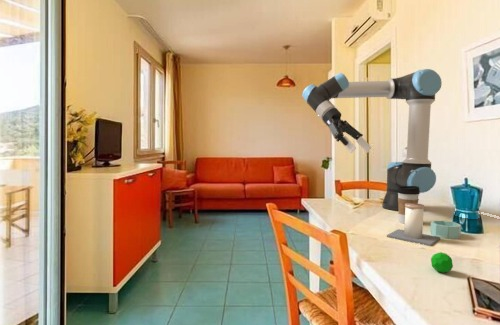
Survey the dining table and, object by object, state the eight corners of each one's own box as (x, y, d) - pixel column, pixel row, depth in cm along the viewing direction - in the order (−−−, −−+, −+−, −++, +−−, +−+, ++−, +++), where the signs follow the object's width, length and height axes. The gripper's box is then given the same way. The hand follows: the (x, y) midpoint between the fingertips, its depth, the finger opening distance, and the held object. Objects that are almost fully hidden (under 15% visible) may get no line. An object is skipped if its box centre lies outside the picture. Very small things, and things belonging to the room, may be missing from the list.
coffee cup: (421, 225, 130) (423, 188, 129) (398, 224, 132) (400, 187, 131) (415, 220, 138) (416, 185, 137) (393, 219, 140) (395, 184, 139)
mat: (398, 230, 123) (398, 229, 123) (440, 238, 113) (440, 237, 113) (386, 236, 115) (386, 235, 115) (430, 246, 105) (430, 244, 105)
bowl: (434, 230, 124) (435, 219, 124) (462, 235, 118) (463, 223, 117) (427, 235, 117) (428, 223, 117) (456, 241, 111) (457, 228, 111)
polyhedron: (444, 276, 81) (445, 258, 81) (426, 269, 86) (426, 251, 86) (456, 273, 84) (457, 255, 83) (438, 266, 88) (439, 249, 88)
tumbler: (407, 232, 118) (408, 202, 117) (425, 236, 114) (426, 204, 113) (401, 236, 114) (402, 204, 113) (419, 239, 110) (421, 207, 109)
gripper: (337, 121, 150) (368, 155, 141) (306, 118, 132) (339, 157, 123) (348, 109, 146) (381, 143, 137) (318, 104, 128) (353, 143, 119)
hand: (361, 150), depth 130 cm, fingers open, 13 cm apart
